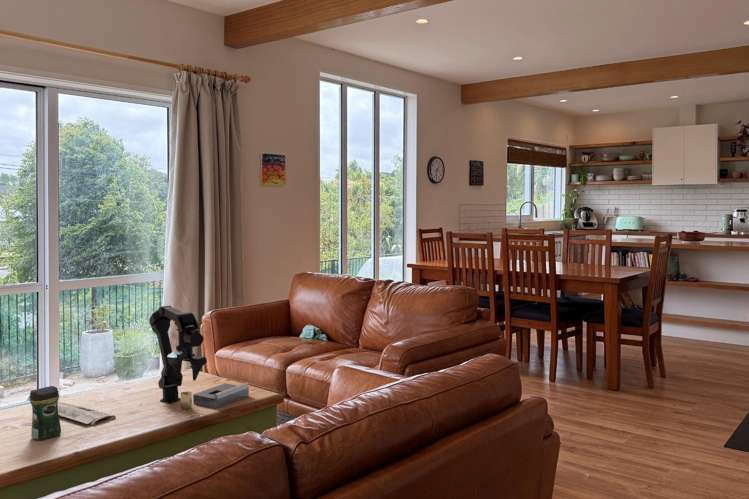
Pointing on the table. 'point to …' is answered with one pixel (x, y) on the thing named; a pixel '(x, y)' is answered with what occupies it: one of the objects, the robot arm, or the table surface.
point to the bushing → (186, 401)
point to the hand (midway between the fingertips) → (186, 379)
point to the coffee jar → (45, 413)
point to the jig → (221, 395)
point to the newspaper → (81, 413)
